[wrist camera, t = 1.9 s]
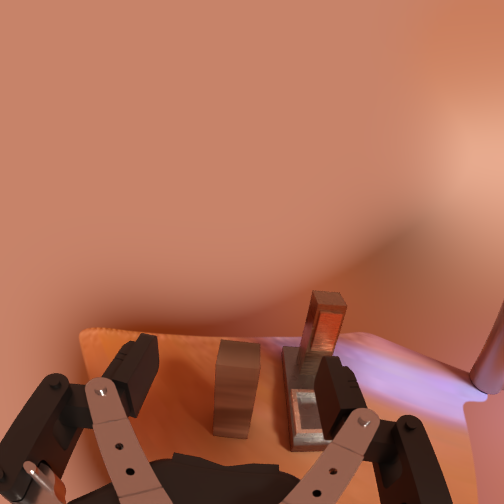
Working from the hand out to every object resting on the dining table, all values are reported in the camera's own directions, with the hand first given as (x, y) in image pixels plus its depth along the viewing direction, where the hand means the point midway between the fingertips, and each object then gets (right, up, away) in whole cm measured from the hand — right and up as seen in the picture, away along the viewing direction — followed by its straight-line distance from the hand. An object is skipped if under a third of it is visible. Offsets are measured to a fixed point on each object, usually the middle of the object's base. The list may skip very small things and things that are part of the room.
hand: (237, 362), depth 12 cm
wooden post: (-2, -16, +16) cm, 23 cm away
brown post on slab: (+9, -15, +22) cm, 29 cm away
